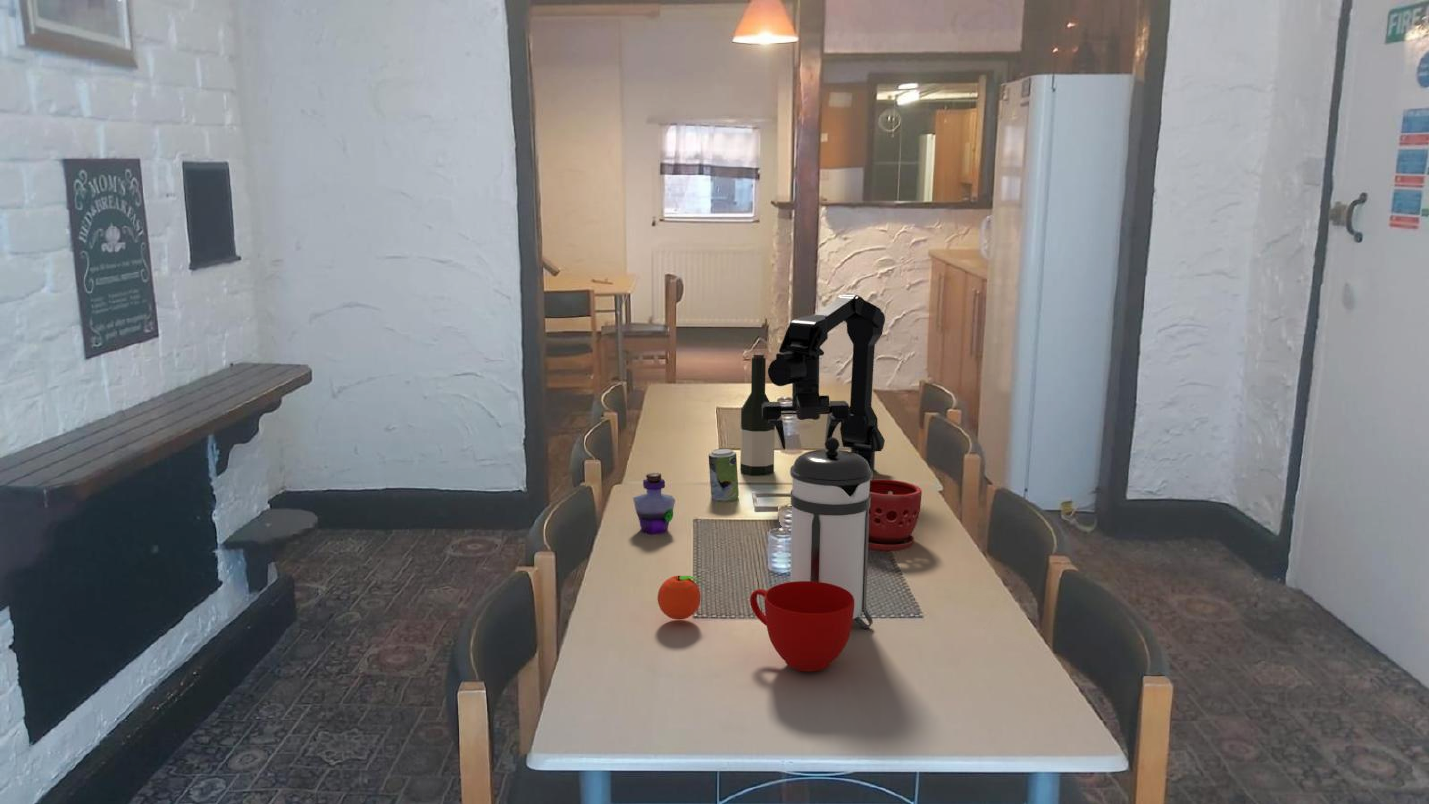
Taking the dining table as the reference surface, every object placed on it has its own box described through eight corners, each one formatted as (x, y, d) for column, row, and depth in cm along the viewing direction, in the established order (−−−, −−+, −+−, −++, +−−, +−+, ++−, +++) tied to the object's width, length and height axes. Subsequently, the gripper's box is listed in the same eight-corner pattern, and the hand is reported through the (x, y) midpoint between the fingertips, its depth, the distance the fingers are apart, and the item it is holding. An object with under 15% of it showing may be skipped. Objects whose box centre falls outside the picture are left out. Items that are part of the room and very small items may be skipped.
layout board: (750, 500, 239) (750, 492, 238) (899, 501, 239) (899, 492, 239) (753, 517, 227) (753, 507, 226) (909, 517, 228) (910, 508, 227)
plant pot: (913, 560, 202) (916, 498, 199) (844, 551, 206) (846, 491, 203) (923, 539, 214) (926, 480, 211) (858, 531, 218) (860, 474, 216)
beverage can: (704, 450, 232) (700, 503, 235) (736, 456, 230) (731, 509, 232) (715, 443, 238) (710, 495, 241) (746, 450, 235) (741, 502, 238)
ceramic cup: (776, 629, 169) (777, 568, 167) (869, 659, 159) (871, 595, 157) (724, 656, 160) (724, 592, 158) (819, 690, 149) (821, 621, 147)
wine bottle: (733, 476, 258) (734, 352, 252) (764, 473, 262) (766, 350, 256) (749, 485, 251) (750, 357, 245) (780, 481, 254) (783, 355, 248)
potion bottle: (670, 540, 212) (670, 481, 209) (628, 537, 213) (627, 478, 211) (679, 526, 220) (679, 469, 218) (637, 524, 221) (637, 467, 219)
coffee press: (890, 611, 177) (897, 432, 171) (851, 646, 163) (857, 453, 158) (795, 591, 186) (799, 420, 180) (750, 622, 172) (753, 438, 166)
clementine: (698, 606, 178) (698, 565, 177) (713, 622, 172) (713, 579, 171) (651, 613, 176) (651, 571, 174) (665, 629, 169) (665, 586, 168)
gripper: (764, 386, 223) (764, 459, 227) (854, 385, 223) (853, 458, 227) (761, 376, 234) (761, 445, 238) (847, 375, 234) (846, 444, 238)
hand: (805, 448), depth 235 cm, fingers open, 9 cm apart
